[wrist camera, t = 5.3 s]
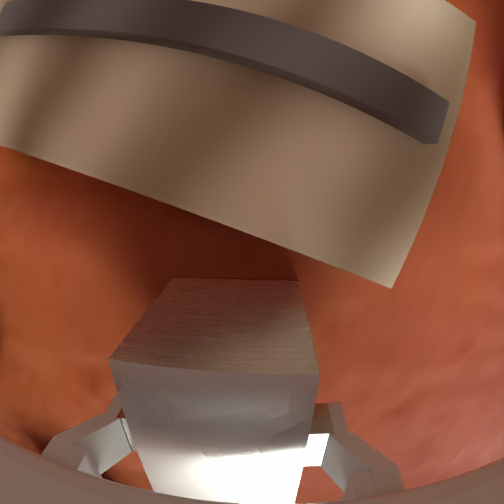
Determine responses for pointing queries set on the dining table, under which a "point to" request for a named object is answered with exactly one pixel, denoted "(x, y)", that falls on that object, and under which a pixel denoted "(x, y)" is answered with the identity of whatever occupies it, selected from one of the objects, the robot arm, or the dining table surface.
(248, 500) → the saddle block
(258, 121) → the rail board
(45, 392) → the dining table surface
